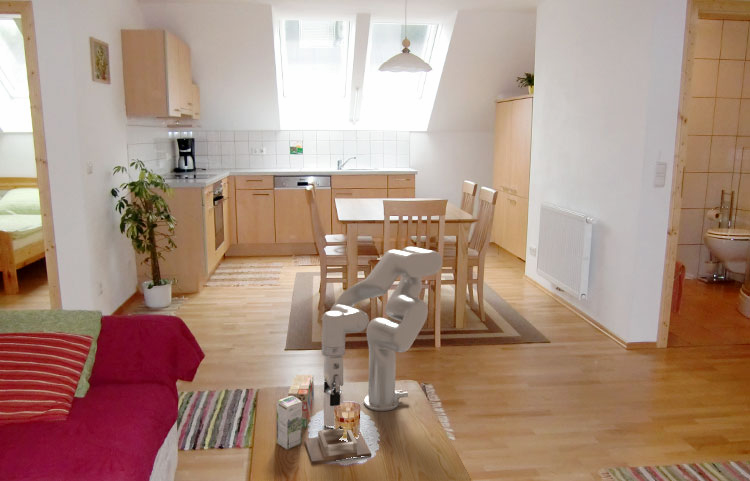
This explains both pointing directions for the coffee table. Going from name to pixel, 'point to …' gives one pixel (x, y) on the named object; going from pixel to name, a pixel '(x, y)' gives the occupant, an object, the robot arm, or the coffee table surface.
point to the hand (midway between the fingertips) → (331, 398)
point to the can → (329, 407)
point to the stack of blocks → (303, 394)
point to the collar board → (335, 446)
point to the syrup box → (289, 422)
